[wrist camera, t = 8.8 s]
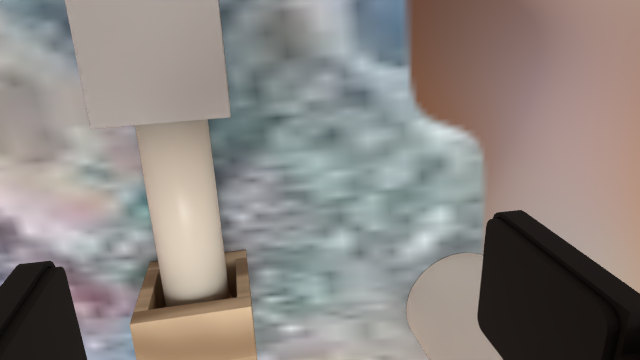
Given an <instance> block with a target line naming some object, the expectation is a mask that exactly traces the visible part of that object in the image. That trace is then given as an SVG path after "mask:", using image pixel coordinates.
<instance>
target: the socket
mask: <svg viewBox="0 0 640 360" xmlns="http://www.w3.org/2000/svg"><path fill="white" fill-rule="evenodd" d="M224 255H225V263H226V271H227V279H228V287H229V293H230V294H231V295H232V297H233V298H229V299H222V300H215V301H208V302H201V303H194V304H187V305H180V306H173V307H166V308H165V306H166V304H165V298H164V293H163V287H162V281H161V275H160V269H159V263H158V261H154V262H150V263H149V266H148V270H147V273H146V276H145V279H144V282H143V285H142V288H141V291H140V294H139V297H138V300H137V303H136V306H135V309H134V313H133V316H132V319H131V322H130V329H131V334H132V339H133V344H134V349H135V354H136V359H137V360H257V352H256V342H255V332H254V322H253V311H252V302H251V293H250V284H249V274H248V265H247V256H246V250H241V251H233V252H225V253H224Z"/></svg>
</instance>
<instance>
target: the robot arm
mask: <svg viewBox="0 0 640 360" xmlns="http://www.w3.org/2000/svg"><path fill="white" fill-rule="evenodd" d="M477 319H478V324H479V327H480V329H481V331H482V333H483V334H484V335H485V336H486V338H487V339H488V340H489V342H490V343H491V344H492V346H493V347H494V348H495V349H496V351H497V352H498V353H499V355H500V356H501V357H502V359H503V360H640V294H639V293H638V292H636V291H635V290H634V289H632V288H631V287H629V286H628V285H627V284H625V283H624V282H622V281H621V280H620V279H618V278H617V277H615V276H614V275H612V274H611V273H610V272H608V271H607V270H606V269H604V268H603V267H601V266H600V265H599V264H597V263H596V262H594V261H593V260H591V259H590V258H589V257H587V256H586V255H584V254H583V253H582V252H580V251H579V250H577V249H576V248H575V247H573V246H572V245H570V244H569V243H567V242H566V241H565V240H563V239H562V238H560V237H559V236H558V235H556V234H555V233H553V232H552V231H551V230H549V229H548V228H546V227H545V226H544V225H542V224H541V223H539V222H538V221H537V220H535V219H534V218H532V217H531V216H529V215H528V214H527V213H525V212H524V211H522V210H518V211H508V212H498V213H496V214H495V215H494V217H493V219H490V220H489V221H488V222H487V226H486V234H485V244H484V254H483V264H482V274H481V283H480V293H479V303H478V313H477ZM0 360H87V357H86V353H85V349H84V345H83V341H82V337H81V333H80V329H79V325H78V321H77V317H76V313H75V309H74V305H73V301H72V297H71V293H70V289H69V285H68V281H67V276H66V273H65V270H64V269H63V268H62V267H55V265H54V264H53V262H51V261H44V262H35V263H26V264H19V265H18V266H17V267H16V268H15V269H14V270H13V271H12V273H11V274H10V275H9V276H8V278H7V279H6V280H5V281H4V283H3V284H2V285H1V286H0Z"/></svg>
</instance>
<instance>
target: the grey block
mask: <svg viewBox="0 0 640 360" xmlns="http://www.w3.org/2000/svg"><path fill="white" fill-rule="evenodd" d="M65 4H66V9H67V14H68V19H69V24H70V29H71V34H72V39H73V44H74V49H75V54H76V59H77V64H78V69H79V74H80V79H81V84H82V89H83V94H84V99H85V104H86V109H87V114H88V119H89V124H90V129H96V128H108V127H120V126H132V125H145V124H157V123H169V122H181V121H193V120H205V119H217V118H229V117H231V116H230V100H229V90H228V81H227V71H226V62H225V53H224V44H223V34H222V25H221V16H220V7H219V0H65Z"/></svg>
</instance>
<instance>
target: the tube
mask: <svg viewBox="0 0 640 360" xmlns="http://www.w3.org/2000/svg"><path fill="white" fill-rule="evenodd" d="M135 129H136V135H137V141H138V146H139V152H140V158H141V164H142V170H143V176H144V181H145V187H146V193H147V199H148V205H149V211H150V217H151V222H152V228H153V234H154V240H155V246H156V252H157V257H158V263H159V269H160V275H161V281H162V287H163V293H164V298H165V304H166V306H165V308H166V307H173V306H180V305H187V304H194V303H201V302H208V301H215V300H222V299H229V298H233V297H232V295H231V294H230V293H229V287H228V279H227V271H226V263H225V255H224V247H223V239H222V230H221V222H220V214H219V206H218V198H217V190H216V182H215V174H214V166H213V158H212V150H211V141H210V133H209V125H208V119H205V120H193V121H181V122H169V123H157V124H145V125H135Z"/></svg>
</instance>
